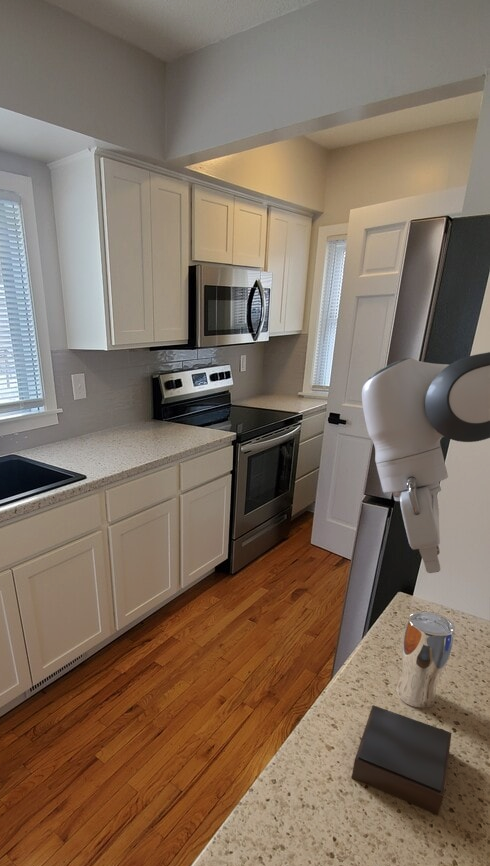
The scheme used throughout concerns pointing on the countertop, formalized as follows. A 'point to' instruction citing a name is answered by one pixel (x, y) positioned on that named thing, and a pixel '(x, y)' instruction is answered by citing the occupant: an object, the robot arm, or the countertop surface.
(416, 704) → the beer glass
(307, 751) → the countertop surface
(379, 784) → the riser
